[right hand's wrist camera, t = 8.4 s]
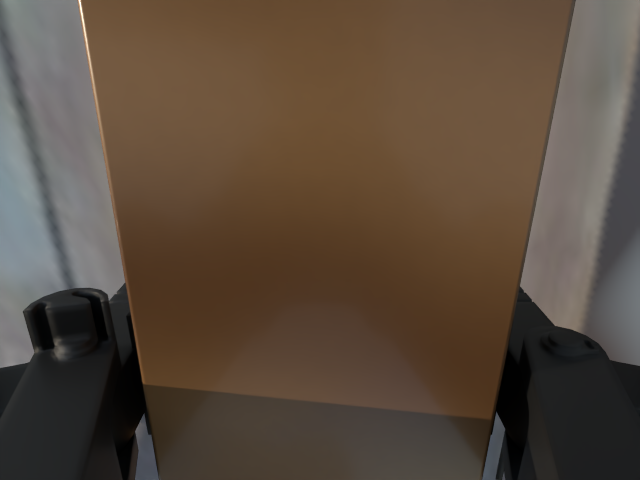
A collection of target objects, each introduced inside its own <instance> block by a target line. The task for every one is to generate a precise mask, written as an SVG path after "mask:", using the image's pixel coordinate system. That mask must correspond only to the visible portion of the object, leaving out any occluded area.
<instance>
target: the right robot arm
mask: <svg viewBox="0 0 640 480" xmlns="http://www.w3.org/2000/svg"><path fill="white" fill-rule="evenodd" d="M23 314H24V317H25V321H26V324H27V328H28V331H29V335H30V338H31V342H32V345H33V349H34V352H35V353H34V355H33V357H32V359H31V360H30V362H29V363H25V364H20V365H15V366H9V367H4V368H0V480H135V474H136V466H137V458H138V444H137V438H136V434H135V430H136V428H137V426H138V424H139V422H140V420H141V418H142V416H143V414H145V419H146V425H147V430H148V435H151V429H150V423H149V417H148V412H147V406H146V400H145V394H144V388H143V382H142V376H141V370H140V365H139V359H138V353H137V347H136V341H135V335H134V329H133V323H132V318H131V312H130V306H129V300H128V294H127V288H126V282H125V283H124V285H123V286H122V287H121V288H120V289H119V290H118V291H117V294H115V295H114V296H113V297H112V298H111V299H110V301H109V300H108V295H107V294H106V293H105V292H103V291H102V290H98V289H93V288H74V289H69V290H64V291H59V292H56V293H53V294H50V295H47V296H44V297H42V298H40V299H39V300H37V301H35V302H33V303H31V304H30V305H29V306H28V307H27V308H26V309H25V310H24V311H23ZM496 411H497V413H498V415H499V417H500V419H501V421H502V423H503V425H504V427H505V434H504V438H503V443H502V448H501V453H500V458H499V463H498V468H497V474H496V480H502V477H503V473H505V480H640V366H636V365H631V364H626V363H620V362H616V361H612V360H609V358H608V356H607V354H606V352H605V351H604V350H603V349H602V347H601V346H600V345H599V344H598V343H597V342H595V341H594V340H592V339H591V338H589V337H587V336H586V335H583V334H581V333H578V332H576V331H574V330H571V329H566V328H562V327H557V326H555V325H554V324H553V323H552V322H551V321H550V320H549V319H548V318H547V316H546V315H545V314H544V313H543V312H542V311H541V310H540V309H539V307H538V306H537V305H536V304H535V303H534V302H532V299H531V298H530V297H529V296H528V295H527V294H526V293H524V290H523V289H522V288H521V287H519V293H518V298H517V303H516V308H515V313H514V318H513V323H512V328H511V334H510V339H509V344H508V349H507V354H506V359H505V364H504V369H503V374H502V380H501V385H500V390H499V395H498V400H497V405H496V410H495V415H494V421H495V416H496ZM494 421H493V426H494ZM493 426H492V431H491V435H492V432H493Z"/></svg>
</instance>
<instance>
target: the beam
mask: <svg viewBox="0 0 640 480" xmlns="http://www.w3.org/2000/svg"><path fill="white" fill-rule="evenodd" d="M575 1H576V0H78V6H79V12H80V18H81V24H82V30H83V36H84V41H85V47H86V53H87V59H88V65H89V71H90V77H91V83H92V88H93V94H94V100H95V106H96V112H97V118H98V124H99V130H100V135H101V141H102V147H103V153H104V159H105V165H106V171H107V177H108V182H109V188H110V194H111V200H112V206H113V212H114V218H115V224H116V229H117V235H118V241H119V247H120V253H121V259H122V265H123V271H124V276H125V282H126V288H127V294H128V300H129V306H130V312H131V318H132V323H133V329H134V335H135V341H136V347H137V353H138V359H139V365H140V370H141V376H142V382H143V388H144V394H145V400H146V406H147V412H148V417H149V423H150V429H151V435H152V441H153V447H154V453H155V459H156V464H157V470H158V476H159V480H482V477H483V472H484V467H485V462H486V456H487V451H488V446H489V441H490V436H491V431H492V426H493V421H494V415H495V410H496V405H497V400H498V395H499V390H500V385H501V380H502V374H503V369H504V364H505V359H506V354H507V349H508V344H509V339H510V334H511V328H512V323H513V318H514V313H515V308H516V303H517V298H518V293H519V287H520V282H521V277H522V272H523V267H524V262H525V257H526V252H527V247H528V241H529V236H530V231H531V226H532V221H533V216H534V211H535V206H536V200H537V195H538V190H539V185H540V180H541V175H542V170H543V165H544V160H545V154H546V149H547V144H548V139H549V134H550V129H551V124H552V119H553V113H554V108H555V103H556V98H557V93H558V88H559V83H560V78H561V73H562V67H563V62H564V57H565V52H566V47H567V42H568V37H569V32H570V26H571V21H572V16H573V11H574V6H575Z"/></svg>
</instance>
